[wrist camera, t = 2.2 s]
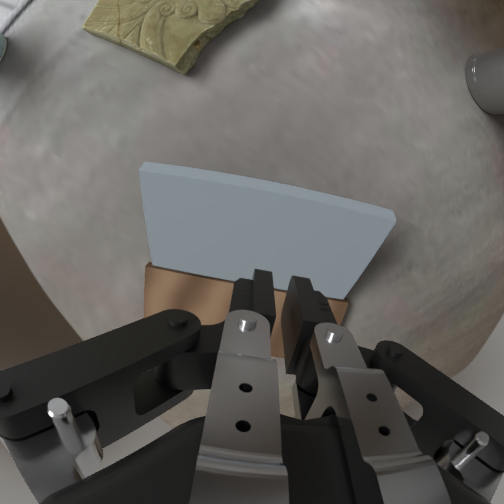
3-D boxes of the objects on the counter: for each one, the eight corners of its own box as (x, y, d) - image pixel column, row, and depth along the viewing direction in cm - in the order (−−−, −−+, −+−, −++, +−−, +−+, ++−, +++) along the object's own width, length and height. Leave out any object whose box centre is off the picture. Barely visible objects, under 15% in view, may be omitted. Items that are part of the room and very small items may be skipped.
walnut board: (347, 292, 38) (350, 297, 36) (323, 355, 41) (325, 362, 40) (149, 256, 37) (145, 260, 35) (147, 325, 40) (144, 331, 39)
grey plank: (393, 210, 27) (396, 221, 26) (342, 289, 37) (343, 299, 36) (145, 161, 26) (138, 170, 25) (156, 255, 36) (152, 265, 35)
